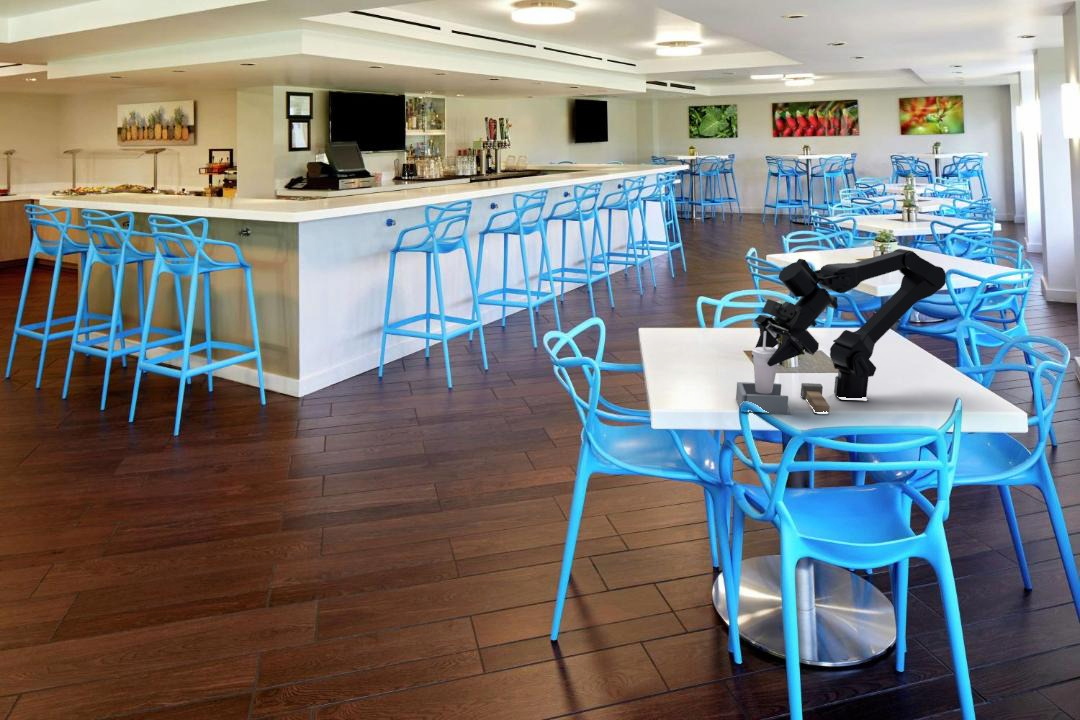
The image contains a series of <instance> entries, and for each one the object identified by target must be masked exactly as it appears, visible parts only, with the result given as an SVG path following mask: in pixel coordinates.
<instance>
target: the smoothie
mask: <svg viewBox="0 0 1080 720" xmlns="http://www.w3.org/2000/svg"><path fill="white" fill-rule="evenodd" d="M765 346H766V331H764V338H763V347H757V348H755V347H754V348H752V349H751V350H752V351H751V356H752V355H753V358H752V359H753V360H752V361H753V372H754V383H755V391H756V392H758V393H763V394H768V393H772V390H773V385H774V384H775V379H776V374H777V370H778V364H779V363H778V364H776V365H773V366H771V367H770V366H769V365H768V364H767V362H768V361H769V359H770V358H771V357H772V355H773V354H774V353H775V351H776V350H777V349H778V348H777V347H773V348H771V347H765Z"/></svg>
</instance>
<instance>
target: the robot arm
mask: <svg viewBox="0 0 1080 720" xmlns="http://www.w3.org/2000/svg"><path fill="white" fill-rule="evenodd" d="M896 271H899V273H900V274H901V275H903V276H902V278H901V283H900V287H899V289H898V290H897V291H896V292H895V293H894V294H893V295H892V296H890V298H889V299H888V300H887V301H885V303H884V304H883V305H881V307H880V308H879V309H877V310H876V311H875V312H874V314H873V315H872V316H871V317H869V319H868V320H867V321H866V322H864V324H863V325H861V327H860V328H858V329H857V330H855V331H851V330H848V329H844V330H843V331H842V332H841V334H840V335H839V336H838V337H837V338H835V339H834V340H832V342H833V344H832V345H831V346H830V348H829V351H830V352H829V357H830V358H829V359H830V360H831V361H832V363H833V368H834V369H836V370H837V371H838V372H837V375H836V376H835V378H834V387H833V388H834V390H833V394H834V395H835V396H836V397H837V396H838V397H846V398H862V397H867V393H868V385H869V378H870V377H874V375H875V373H876V371H877V366H875V364H874V363H873V362H872V361H871V360H870V359H871V357H872V356H873V353H874V348H875V344H876V343H877V342H878V341H879V340H880V339H882V337H883V336H885V334H886V333H888V331H889V330H891V328H892V327H893V326H894V325H896V323H897V322H898V321H899V320H900V319H902V317H903V316H904V315H905V314H906V313H907V312H908V311H910V310H911V308H912V307H913V306H915V304H916V303H918V302H919V301H923V300H924V299H927V298H929V297H932V296H933V295H935V294H936V293H937V292H939V291H940V290H941V289H942V288H944V286H945V284H946V283H947V280H946V279H947V273H946V271H945V269H944V268H943V267H941V266H938V265H935V264H933V263H931V262H930V261H928V260H926V259H925V258H922V257H921V256H919V255H918V254H917V253H915V252H914V251H913V250H909V249H903V248H898V249H895V250H893V251H889V252H887V253H883V254H879V255H877V256H874V257H869V258H867V259H862V260H860V261H857V262H849V263H848V262H847V263H846V262H845V263H843V262H842V263H841V262H840V263H839V262H838V263H828V264H825V265H823V266H822V267H820V269H817V270H813V269H812V268H811V266H810V265H809V263H808V261H807V260H806V259H803V258H798V259H797V260H796V261H794V262H792V263H790V264H788V265H787V266H784V267H783V268H782V269H781V270H780V272H779V275H778V279H779V281H780V282H781V283H782V284H783V285H784V287H786V290H787V289H788V291H789V292H790V293H791V294H792V295H793V297H795V298H799V299H798V300H797V301H796V303H792V302H789V301H786V300H785V301H784V302H783V303H781V302H778V301H775V300H773V299H769V298H767V300H766V302H765V304H764V306H763V308H762V310H761V312H762V313H763V314H759V315H758V316H757V317H756V318H755V319H754V323H755V324H756V325H757V327H758V329H759V337H758V340H757V342H756V344H755V347H754V348H757V347H763V338H764V331H766V346H765V347H771V348H776V346H777V345H779V344H780V345H779V346H778V347H777V348H776V349H777V350H776V351H775V353H774V354H773V355H772V357H771V358H770V359H769V361H768V362H767V364H768V365H769V366H770V367H771V366H773V365H776V364H780V363H783V362H785V361H787V360H790V359H793V358H795V357H798V356H802V355H803V356H804V355H805V354H806V353H807V354H808V355H811V356H814V355H815V353H817V351H818V350H819V344H820V343H819V341H818V340H816V338H815V337H814V336H813V335H812V334H811V333H810V331H808V329H809V328H810V327H813V328H815V327H816V326H817V325H818V322H816V320H817V319H818V318H819V317H820V315H822V313H823V312H824V311H825V310H826V309H827V308H832V309H834V310H837V309H838V308H839V304H838V297H837V296H835V295H831V294H830V293H829V291H831V292H834V293H837V294H845V293H847V292H849V291H851V290H853V289H855V288H857V287H858V286H859V285H860V284H861V283H862V282H864V281H866V280H869V279H872V278H877V277H880V276H883V275H886V274H890V273H893V272H896ZM764 313H765V314H764ZM767 314H768V315H767ZM769 315H770V316H769ZM772 316H773V317H772ZM781 337H782V338H781ZM780 338H781V343H780V342H779V341H778V340H777V339H780ZM751 357H752V359H753V355H752V354H751ZM838 397H837V398H838Z"/></svg>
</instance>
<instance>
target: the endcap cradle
mask: <svg viewBox="0 0 1080 720" xmlns="http://www.w3.org/2000/svg"><path fill="white" fill-rule="evenodd" d="M781 392H782V383H774V385H773V390H772V393H768V394H763V393H758V392H756V391H755V382H747V381H746V382H743V381H742V382H741V381H737V382H736V393H735V400H736V402H737V405H738V407H739V406H740V404H741V403H742V402H743V401H749V402H752V403H754V404H756V405H758V406H759V407H761V408H762V409H763V410H765V411H767V412H769V413H770V414H771V415H772V414H774V415H792V413H793V411H792V410H791V408H790V406H789V395H782V394H781ZM769 413H768V414H769ZM748 414H754V413H753V412H751V411H749V412H748Z"/></svg>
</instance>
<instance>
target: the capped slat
mask: <svg viewBox="0 0 1080 720" xmlns="http://www.w3.org/2000/svg"><path fill="white" fill-rule="evenodd" d="M800 395H801V396H802V398H806V399H807V400H808V402H809V403H810V405H811V406H812V407H813V409H814V410H815V412H823V411H824V412H826V411H827V412H829V413H830V404H829V403H828V401H827V400H826V398H825V397H824V396H823V385H822V384H821V383H813V382H812V383H809V382H807V383H806V382H801V386H800ZM801 396H800V397H801ZM802 398H801V399H802ZM806 399H805V400H806ZM808 402H807V403H808Z"/></svg>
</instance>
